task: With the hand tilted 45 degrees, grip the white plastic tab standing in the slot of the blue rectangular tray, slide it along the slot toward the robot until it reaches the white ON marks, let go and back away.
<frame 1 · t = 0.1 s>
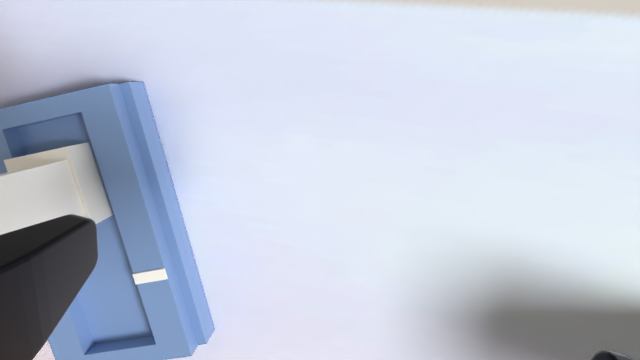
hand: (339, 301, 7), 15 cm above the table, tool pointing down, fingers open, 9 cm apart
switch tab: (5, 208, 18), point 6 cm above the table, slide at 0.0 cm
blue rectangular tray: (109, 226, 24), on the table
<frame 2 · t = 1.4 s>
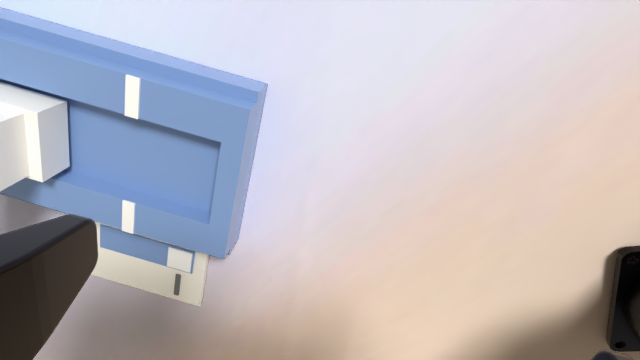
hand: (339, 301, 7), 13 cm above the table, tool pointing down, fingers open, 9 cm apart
blue rectangular tray: (111, 128, 21), on the table
label tile: (150, 255, 24), on the table
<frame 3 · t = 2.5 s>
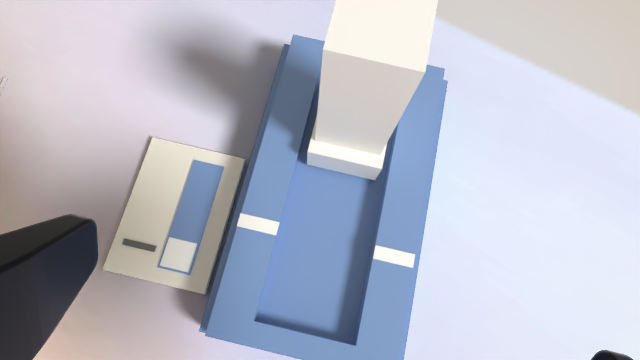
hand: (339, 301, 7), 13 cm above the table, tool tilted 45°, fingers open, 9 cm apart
switch tab: (361, 92, 16), point 6 cm above the table, slide at 0.0 cm
blue rectangular tray: (333, 200, 22), on the table
label tile: (179, 213, 21), on the table
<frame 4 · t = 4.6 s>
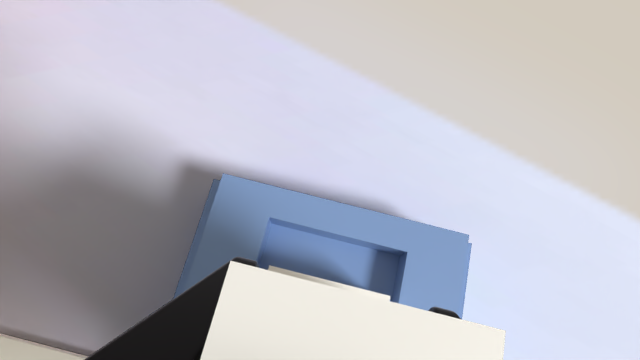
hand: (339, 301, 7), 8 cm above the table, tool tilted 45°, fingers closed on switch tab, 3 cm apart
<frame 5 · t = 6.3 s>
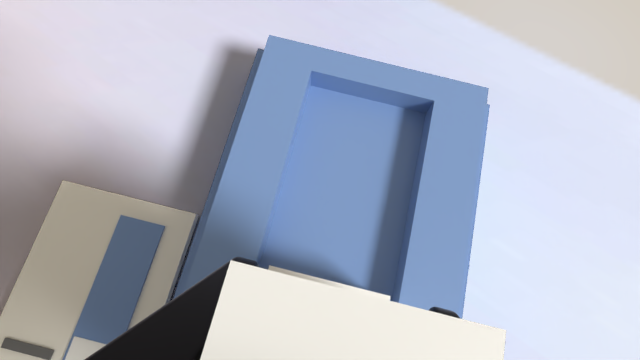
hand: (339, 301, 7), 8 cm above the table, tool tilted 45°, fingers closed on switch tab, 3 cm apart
blue rectangular tray: (324, 276, 15), on the table
label tile: (95, 295, 14), on the table
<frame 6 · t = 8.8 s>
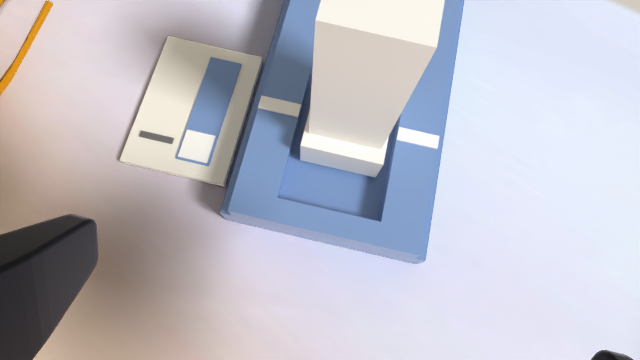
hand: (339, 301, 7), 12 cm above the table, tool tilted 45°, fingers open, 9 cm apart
switch tab: (360, 78, 15), point 6 cm above the table, slide at 5.5 cm
blue rectangular tray: (352, 99, 21), on the table
label tile: (196, 110, 21), on the table
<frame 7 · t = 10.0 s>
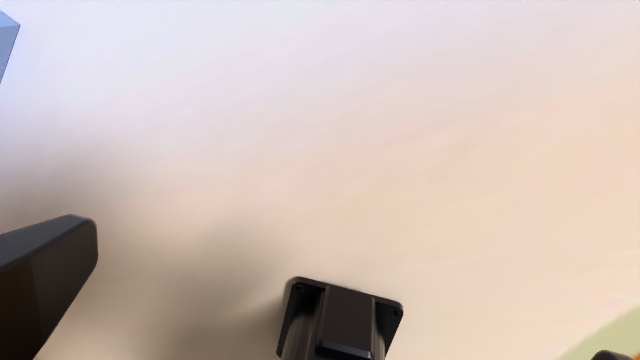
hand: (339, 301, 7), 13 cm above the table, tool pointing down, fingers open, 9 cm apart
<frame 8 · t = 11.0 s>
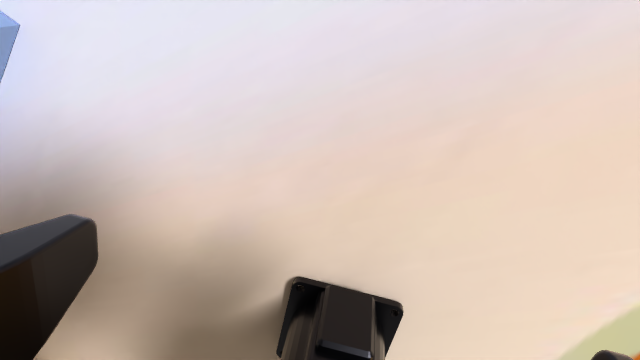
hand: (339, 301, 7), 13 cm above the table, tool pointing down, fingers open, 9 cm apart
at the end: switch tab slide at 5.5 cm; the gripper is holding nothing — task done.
